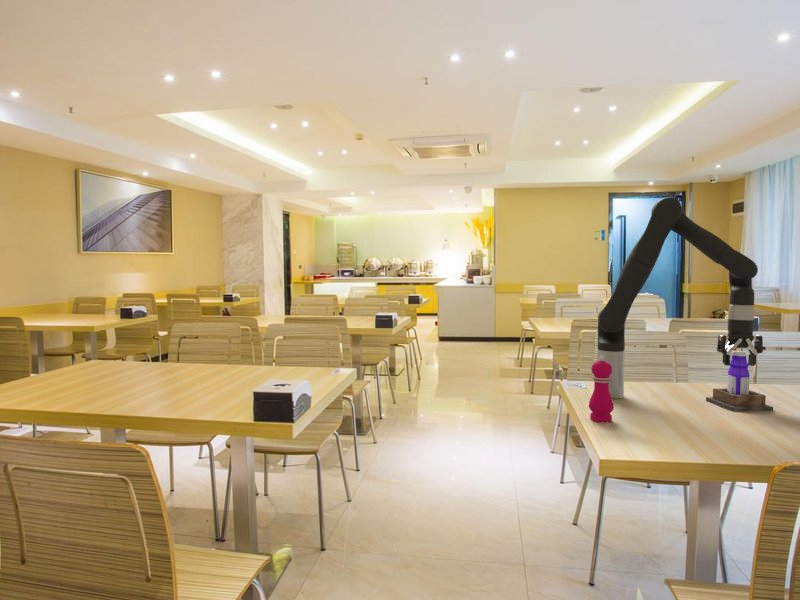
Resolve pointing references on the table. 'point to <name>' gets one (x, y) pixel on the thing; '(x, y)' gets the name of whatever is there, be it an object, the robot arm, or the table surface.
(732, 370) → the bottle
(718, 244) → the robot arm
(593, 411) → the pepper mill
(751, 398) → the open box
